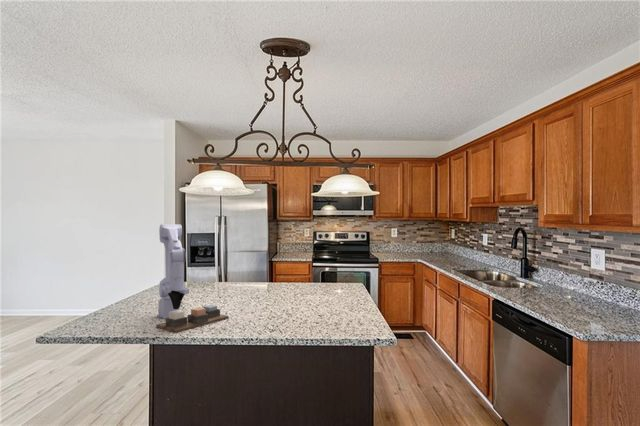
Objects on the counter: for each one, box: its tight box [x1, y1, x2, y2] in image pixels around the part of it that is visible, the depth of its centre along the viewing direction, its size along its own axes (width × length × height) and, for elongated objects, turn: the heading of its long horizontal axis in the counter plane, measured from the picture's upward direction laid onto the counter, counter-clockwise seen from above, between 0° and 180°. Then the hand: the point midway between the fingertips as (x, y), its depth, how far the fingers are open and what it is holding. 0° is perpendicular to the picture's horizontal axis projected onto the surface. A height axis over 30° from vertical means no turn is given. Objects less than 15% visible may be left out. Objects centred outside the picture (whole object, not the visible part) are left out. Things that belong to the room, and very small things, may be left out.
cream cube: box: [169, 309, 185, 320], centre depth 164 cm, size 4×4×4 cm
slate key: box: [203, 304, 218, 311], centre depth 179 cm, size 4×4×4 cm
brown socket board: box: [155, 308, 230, 334], centre depth 172 cm, size 14×28×4 cm, turn 145°
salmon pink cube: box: [190, 307, 206, 317], centre depth 170 cm, size 4×4×4 cm
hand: (176, 308), depth 164 cm, fingers closed
